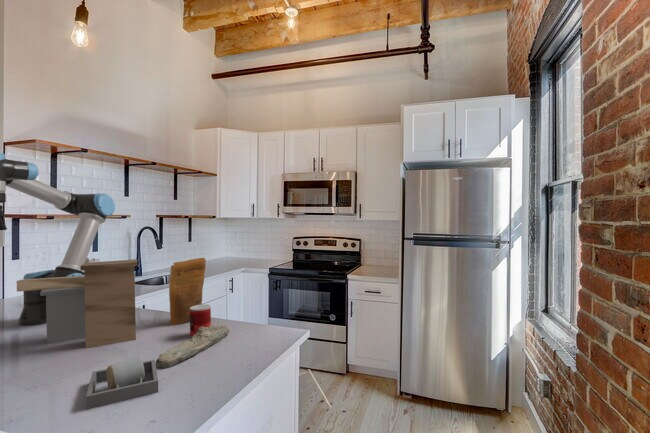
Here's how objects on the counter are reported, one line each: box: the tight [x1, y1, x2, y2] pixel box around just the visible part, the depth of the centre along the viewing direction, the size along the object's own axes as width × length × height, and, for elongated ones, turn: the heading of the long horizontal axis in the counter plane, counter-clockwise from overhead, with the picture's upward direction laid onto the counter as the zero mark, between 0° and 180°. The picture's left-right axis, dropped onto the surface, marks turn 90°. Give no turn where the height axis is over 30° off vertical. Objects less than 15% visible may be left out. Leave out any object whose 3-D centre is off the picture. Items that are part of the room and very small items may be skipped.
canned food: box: [189, 304, 212, 337], centre depth 138 cm, size 8×8×11 cm
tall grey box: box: [40, 287, 86, 345], centre depth 138 cm, size 10×20×20 cm, turn 119°
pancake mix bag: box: [168, 257, 207, 326], centre depth 156 cm, size 7×19×28 cm, turn 144°
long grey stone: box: [155, 325, 230, 369], centre depth 124 cm, size 35×5×10 cm
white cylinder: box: [106, 355, 146, 390], centre depth 94 cm, size 11×8×8 cm
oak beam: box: [16, 276, 85, 293], centre depth 137 cm, size 6×30×5 cm, turn 108°
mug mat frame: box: [85, 359, 159, 410], centre depth 95 cm, size 16×16×3 cm
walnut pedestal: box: [80, 258, 138, 349], centre depth 133 cm, size 11×18×30 cm, turn 119°
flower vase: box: [83, 257, 100, 271], centre depth 197 cm, size 13×18×25 cm
